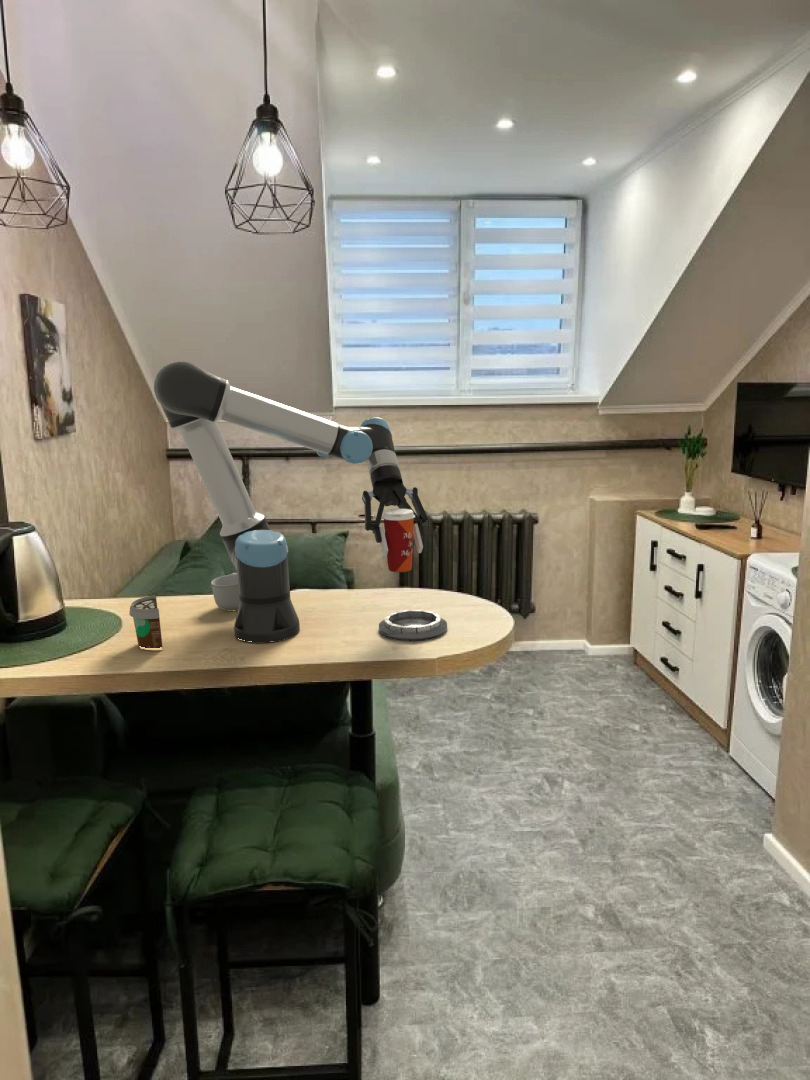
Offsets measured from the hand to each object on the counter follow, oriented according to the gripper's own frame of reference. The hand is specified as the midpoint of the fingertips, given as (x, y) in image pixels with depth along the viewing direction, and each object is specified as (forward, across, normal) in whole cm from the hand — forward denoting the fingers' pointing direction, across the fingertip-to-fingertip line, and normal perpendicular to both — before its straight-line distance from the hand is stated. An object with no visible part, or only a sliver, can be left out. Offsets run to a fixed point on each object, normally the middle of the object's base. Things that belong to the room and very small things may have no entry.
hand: (403, 551), depth 174 cm
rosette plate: (+15, -1, -11) cm, 18 cm away
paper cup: (+1, 0, -6) cm, 6 cm away
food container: (+8, +59, -18) cm, 62 cm away
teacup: (-8, +38, -35) cm, 52 cm away
